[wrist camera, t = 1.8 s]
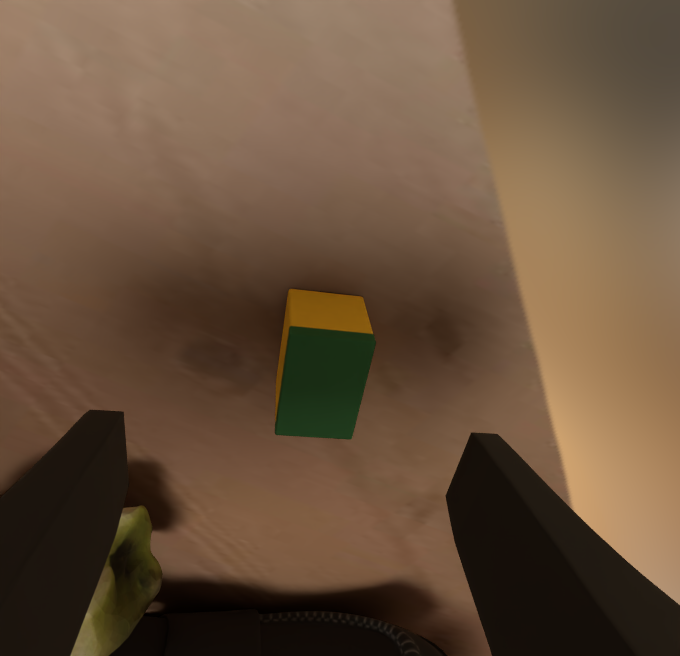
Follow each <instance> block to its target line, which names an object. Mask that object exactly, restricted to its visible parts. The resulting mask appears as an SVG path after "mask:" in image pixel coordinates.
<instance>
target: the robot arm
mask: <svg viewBox="0 0 680 656" xmlns="http://www.w3.org/2000/svg"><path fill="white" fill-rule="evenodd" d="M128 486H129V478H128V464H127V451H126V438H125V425H124V412H121V411H104V410H89V411H88V412H86V413H85V414H84V415H83V416H82V417H81V418H80V419H79V420H78V421H77V422H76V423H75V424H74V425H73V427H72V428H71V429H70V430H69V431H68V432H67V433H66V434H65V435H64V436H63V437H62V438H61V439H60V440H59V441H58V442H57V443H56V444H55V445H54V446H53V447H52V448H51V449H50V450H49V451H48V452H47V453H46V454H45V455H44V456H43V457H42V458H41V459H40V460H39V461H38V462H37V463H36V464H35V465H34V466H33V467H32V468H31V469H30V470H29V471H28V472H27V473H26V474H25V475H24V476H23V477H22V478H20V479H19V480H18V481H17V482H16V483H15V484H14V485H13V486H12V487H11V488H10V489H9V490H8V491H7V492H6V493H5V494H4V495H3V496H2V497H0V656H70V655H71V653H72V650H73V648H74V645H75V642H76V640H77V637H78V634H79V632H80V629H81V626H82V624H83V621H84V619H85V616H86V613H87V611H88V608H89V605H90V603H91V600H92V598H93V595H94V592H95V590H96V587H97V584H98V582H99V579H100V577H101V574H102V571H103V569H104V566H105V563H106V561H107V558H108V555H109V553H110V550H111V547H112V544H113V542H114V539H115V536H116V533H117V529H118V526H119V522H120V518H121V514H122V510H123V506H124V502H125V498H126V494H127V490H128ZM446 500H447V506H448V511H449V517H450V522H451V527H452V531H453V536H454V541H455V544H456V547H457V550H458V554H459V557H460V560H461V563H462V566H463V569H464V572H465V575H466V578H467V581H468V584H469V587H470V590H471V593H472V596H473V599H474V602H475V605H476V608H477V611H478V614H479V617H480V620H481V623H482V626H483V629H484V632H485V635H486V638H487V641H488V644H489V647H490V650H491V654H492V656H680V605H679V604H678V603H676V602H675V601H674V600H673V599H671V598H670V597H669V596H668V595H666V594H665V593H664V592H663V591H661V590H660V589H659V588H658V587H657V586H655V585H654V584H653V583H652V582H651V581H649V580H648V579H647V578H646V577H645V576H643V575H642V574H641V573H640V572H639V571H638V570H636V569H635V568H634V567H633V566H632V565H631V564H629V563H628V562H627V561H626V560H625V559H624V558H622V556H621V555H619V554H618V553H617V552H616V551H615V550H614V549H613V548H612V547H611V546H610V545H609V544H607V543H606V542H605V541H604V540H603V539H602V538H601V537H600V536H599V535H598V534H596V533H595V532H594V531H593V530H592V529H591V528H590V527H589V526H588V525H587V524H586V523H585V522H584V521H583V520H582V519H581V518H580V517H579V516H578V515H577V514H576V513H575V512H574V511H573V510H572V509H571V508H570V507H569V506H568V505H567V504H566V503H565V502H564V501H563V500H562V499H561V498H560V497H559V496H558V495H557V494H556V493H555V492H554V491H553V490H552V489H551V488H550V487H549V486H548V485H547V484H546V483H545V482H544V481H543V480H542V479H541V478H540V477H539V476H538V475H537V474H536V473H535V472H534V470H533V469H532V468H531V467H530V466H529V465H528V464H527V463H526V462H525V461H524V460H523V459H522V458H521V457H520V456H519V455H518V454H517V453H516V452H515V451H514V450H513V449H512V448H511V447H510V446H509V445H508V444H507V443H506V442H505V441H504V440H503V439H502V438H501V437H500V436H499V435H498V434H488V433H471V435H470V437H469V440H468V442H467V444H466V447H465V449H464V452H463V454H462V457H461V459H460V462H459V464H458V467H457V469H456V472H455V474H454V477H453V479H452V481H451V484H450V486H449V489H448V491H447V494H446Z"/></svg>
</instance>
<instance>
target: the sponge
mask: <svg viewBox="0 0 680 656" xmlns="http://www.w3.org/2000/svg"><path fill="white" fill-rule="evenodd" d="M375 345H376V341H375V337H374V334H373V332H372V328H371V324H370V321H369V317H368V314H367V310H366V307H365V303H364V299H363V297H361V296H351V295H342V294H333V293H324V292H315V291H306V290H297V289H289V291H288V297H287V304H286V311H285V319H284V326H283V333H282V341H281V348H280V355H279V363H278V370H277V377H276V409H275V421H276V422H275V434H276V435H286V436H303V437H319V438H336V439H352V436H353V432H354V428H355V424H356V420H357V416H358V412H359V408H360V404H361V400H362V396H363V392H364V388H365V384H366V380H367V377H368V373H369V369H370V365H371V361H372V357H373V353H374V349H375Z"/></svg>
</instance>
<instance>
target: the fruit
mask: <svg viewBox="0 0 680 656" xmlns="http://www.w3.org/2000/svg"><path fill="white" fill-rule="evenodd" d="M151 532H152V524H151V521H150V517H149V514H148V511H147V509H146V507H144V506H141V505H140V506H137V507H127V508H123V510H122V514H121V518H120V522H119V526H118V529H117V533H116V536H115V539H114V542H113V544H112V547H111V550H110V553H109V555H108V558H107V561H106V563H105V566H104V569H103V571H102V574H101V577H100V579H99V582H98V584H97V587H96V590H95V592H94V595H93V598H92V600H91V603H90V605H89V608H88V611H87V613H86V616H85V619H84V621H83V624H82V626H81V629H80V632H79V634H78V637H77V640H76V642H75V645H74V648H73V650H72V653H71V655H70V656H109V655H110V654H111V653H112V652H114V651H115V650H116V649H117V648H118V647H119V646H120V645H121V644H122V643H123V642H124V641H125V640H126V639H127V638H128V637H129V636H130V634H131V633H132V631H133V629H134V628H135V626H136V625H137V623H138V622H139V620H140V619H141V617H142V616H143V614H144V613H145V611H146V610H147V609H148V607H149V606H150V604H151V603H152V601H153V600H154V598H155V597H156V595H157V594H158V592H159V591H160V587H161V583H162V570H161V567H160V565H159V563H158V561H157V560H156V558H155V557H154V556H153V555H152V553H151V550H150V539H151Z"/></svg>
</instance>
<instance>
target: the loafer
mask: <svg viewBox="0 0 680 656" xmlns="http://www.w3.org/2000/svg"><path fill="white" fill-rule="evenodd" d="M109 656H447V655H446V654H445V652H444V651H443V650H442V649H440V648H439V647H438V646H437V645H435V644H434V643H433V642H431V641H429V640H428V639H426V638H424V637H422V636H419V635H416V634H414V633H412V632H410V631H408V630H406V629H404V628H401V627H399V626H396V625H393V624H390V623H387V622H384V621H381V620H377V619H373V618H369V617H364V616H359V615H354V614H347V613H339V612H327V611H296V612H282V613H269V614H259V613H258V611H257V610H255V609H245V610H234V611H219V612H197V613H170V614H165V615H162V616H160V617H159V618H156V617H148V616H142V617H141V619H140V620H139V622H138V623H137V625H136V626H135V628H134V629H133V631H132V633H131V634H130V636H129V637H128V638H127V639H126V640H125V641H124V642H123V643H122V644H121V645H120V646H119V647H118V648H117V649H116V650H115V651H114V652H112V653H111V654H110V655H109Z"/></svg>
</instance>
